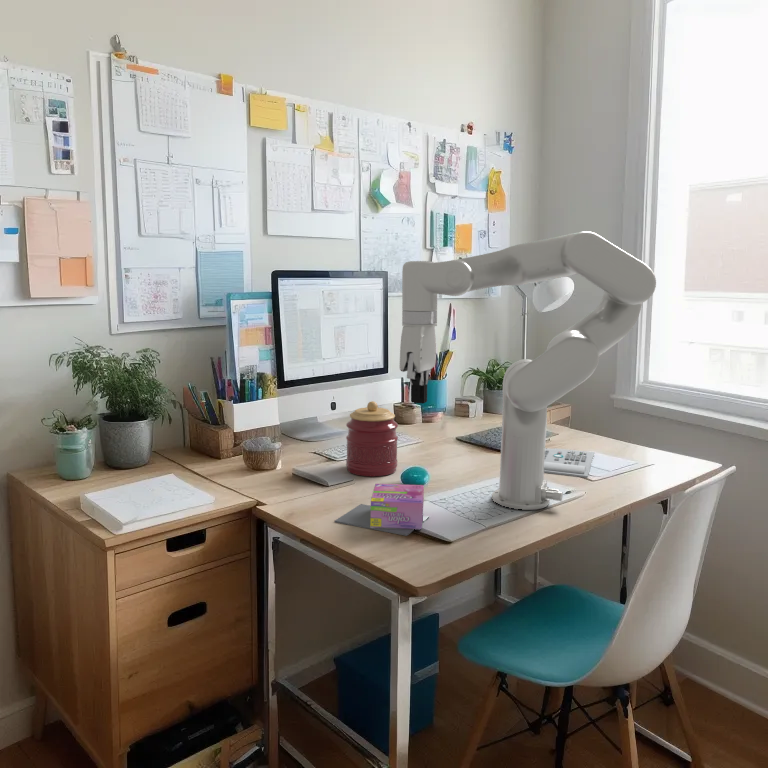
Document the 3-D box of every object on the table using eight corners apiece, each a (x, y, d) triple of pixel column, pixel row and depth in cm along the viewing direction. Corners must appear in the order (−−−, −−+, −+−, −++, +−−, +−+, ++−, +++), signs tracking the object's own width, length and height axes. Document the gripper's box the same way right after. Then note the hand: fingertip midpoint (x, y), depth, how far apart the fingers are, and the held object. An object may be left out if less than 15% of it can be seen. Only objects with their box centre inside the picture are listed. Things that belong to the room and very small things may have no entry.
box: (424, 484, 153) (422, 503, 141) (423, 510, 154) (422, 530, 142) (375, 482, 154) (369, 500, 142) (374, 508, 155) (369, 528, 143)
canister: (346, 477, 177) (346, 406, 174) (345, 462, 190) (345, 396, 187) (399, 477, 178) (400, 406, 175) (395, 462, 190) (396, 396, 187)
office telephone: (589, 470, 179) (508, 461, 186) (588, 481, 180) (507, 471, 186) (595, 447, 201) (522, 440, 207) (594, 456, 201) (521, 448, 208)
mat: (429, 517, 150) (429, 516, 150) (406, 535, 140) (406, 534, 140) (360, 505, 157) (361, 503, 157) (334, 522, 147) (334, 520, 147)
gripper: (417, 316, 165) (416, 395, 168) (389, 321, 152) (389, 407, 155) (448, 317, 162) (447, 398, 165) (422, 322, 148) (421, 410, 152)
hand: (419, 402), depth 160 cm, fingers closed
